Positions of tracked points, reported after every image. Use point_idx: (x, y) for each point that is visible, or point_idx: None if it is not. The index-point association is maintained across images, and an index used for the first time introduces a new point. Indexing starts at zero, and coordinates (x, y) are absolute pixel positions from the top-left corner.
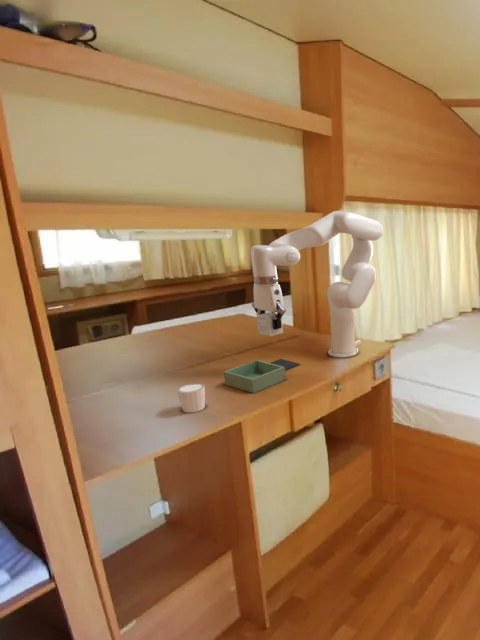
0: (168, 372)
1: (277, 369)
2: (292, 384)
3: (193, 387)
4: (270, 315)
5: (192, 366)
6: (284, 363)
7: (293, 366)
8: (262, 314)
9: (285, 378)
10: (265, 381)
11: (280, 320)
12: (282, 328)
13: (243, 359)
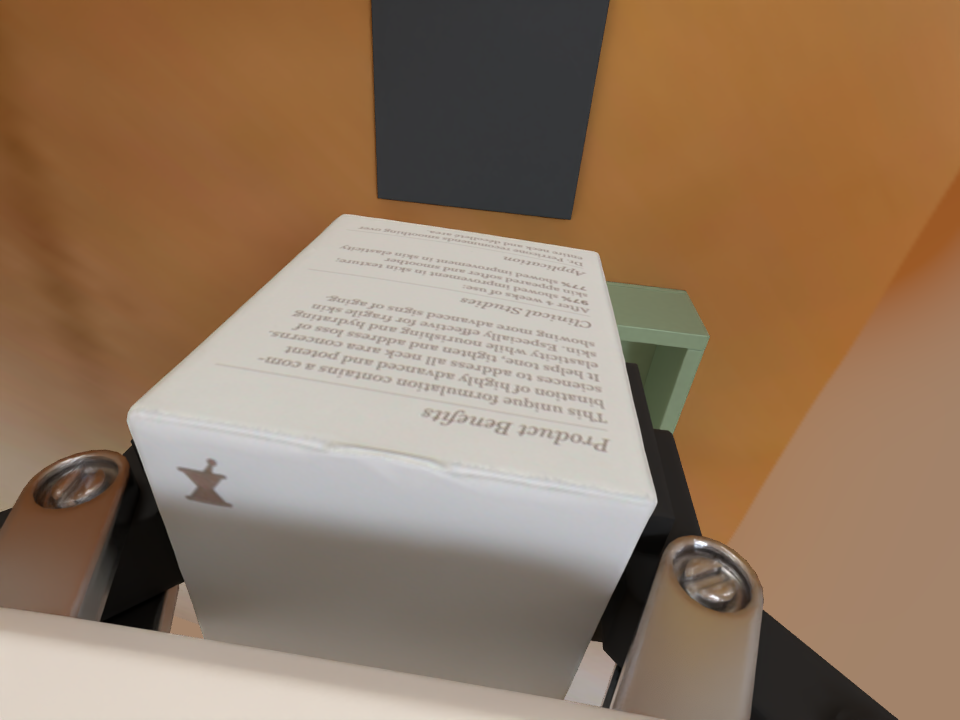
0: (100, 422)
1: (685, 388)
2: (771, 333)
3: None
4: (470, 651)
5: (81, 336)
6: (485, 42)
7: (598, 60)
8: (253, 631)
9: (687, 295)
10: None
11: (694, 520)
12: (607, 295)
13: (142, 111)
